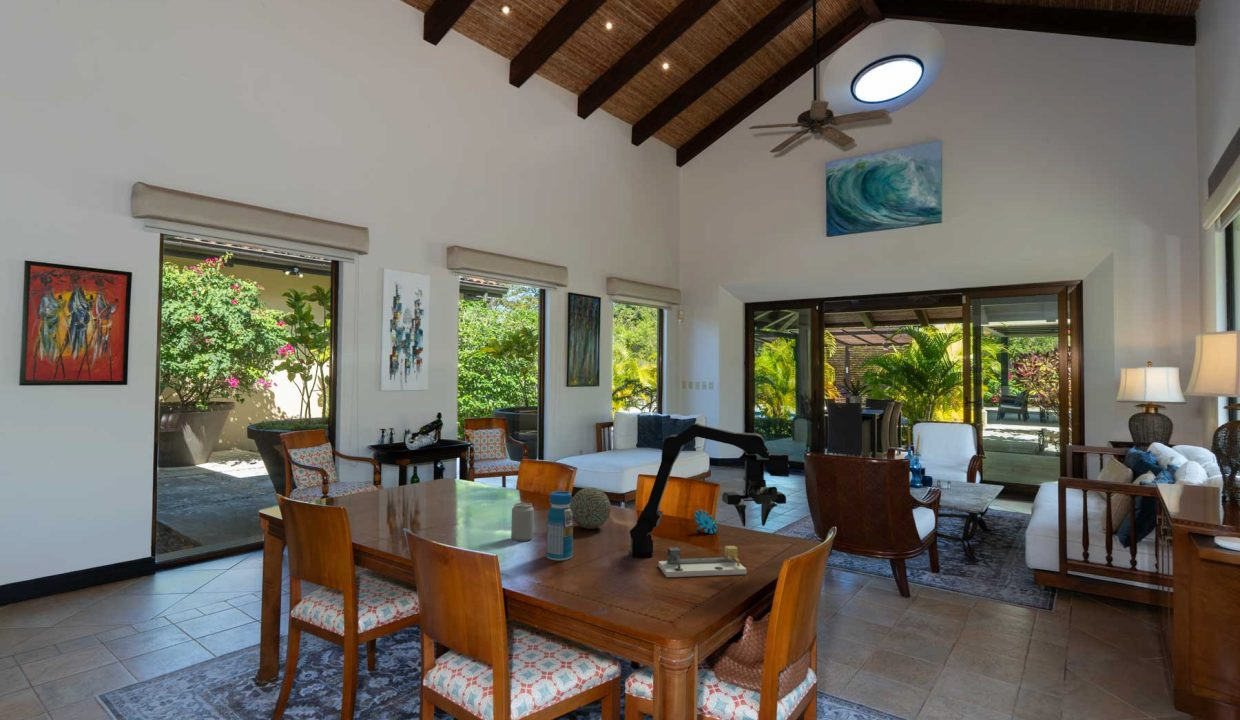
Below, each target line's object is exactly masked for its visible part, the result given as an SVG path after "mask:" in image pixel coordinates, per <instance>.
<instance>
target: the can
mask: <svg viewBox="0 0 1240 720" xmlns="http://www.w3.org/2000/svg"><path fill="white" fill-rule="evenodd" d="M534 511H535V508H534V507H533V504H532V503H530V502H515V503H514V504H513V507H512V508H511V527H510V528H511V534H510V535H511V536H510V537H511V538H512V539H513V541H516V542H527V541H531V539H532V538H533V537H534V520H535V519H534V514H535V513H534Z"/></svg>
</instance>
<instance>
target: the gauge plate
mask: <svg viewBox="0 0 1240 720" xmlns="http://www.w3.org/2000/svg"><path fill="white" fill-rule="evenodd" d="M680 565H681V567H680V568H678V565H677V564H667V560H660V561H659V560H658V567H659V569H660V570H661V571H662V573H663V574H664V576H665V577H666V578H678V577H679V578H680V577H683V578H684V577H705V576H706V577H707V576H708V577H709V576H731V575H733V576H734V575H747V567H745V566H743V565H742V564H741V563H740V566H737V563H736V562H723V563H693V564H680Z"/></svg>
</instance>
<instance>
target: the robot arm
mask: <svg viewBox="0 0 1240 720" xmlns="http://www.w3.org/2000/svg"><path fill="white" fill-rule="evenodd" d="M695 438H700V439H706V440H709V441H714V442H718V443H722V444H723V443H724V444H728V445H730V446H734V447H737V448H739V449H740V450H743V453H742V454H741V455H740V456H739V458H738V460H739V461H744V476H743V481H744V489H743V491H742V494H739V493H738V492H736V491H724V492H722V493H723V494H722V495H721V501H722V502H723V503H725V504H726V505H731V506H734V507H735V509H736V511H737V513H738V517H739V519H740V521H741V524H742V526H743V527H746V521H747V520H746V508H747V505H746V504H745V502H754V503H755V504H756V505H761V506H760V508H761V510H760V511H761V512H760V518H761V526H762V527H765V525H766V523H767V520H768V518H769V516H770V512H772V510H773V509H774V508H775V507H778V505H782V504H783V505H785V504H787V496H786V494H785V493H783V492H781V491H779V490H778V488H777V487H776V486H768V487H767V480H766V479H765V471H766V473H768V474H769V476H770V477H778V478H779V477H783V478H790V464H789V454H787V453H784V454H775V453H774V454H773V453H771V452H770V450H769V449H768V447H767V446H766V445H765V444H766V442H765V439H764V437H763V435H762V434H760V433H756V432H735V431H730V430H726V429H720V428H716V427H712V426H707V425H703V424H700V423H698V422H697V423H692V425H690V426H689V427H688V428H686V429H685V430H684V431H682V432H680V433H679V434H671V435H669V436H668V437H666V438H665V439H664V440H663V443H662V448H661V457H660V458H661V459H660V460H661V461H660V466H659V467H658V471H657V474H656V476H655V479H654V481H653V482H654V483H653V486H652V488H651V491H650V495H649V498H648V500H647V503H646V504H645V506H644V508H643V510H642V511H641V513H640V515H639V516H638V519H637V520H636V523H635V525H634V526H633V527H632V528H631V529H630V530H629V534H630V547H629V548H630V549H629V550H628V552H629V553H630V555H631V557H632V558H652V557H654V556H653V553H654V540H653V539H652V535H651V532H653V531H654V529H657V527H658V526H659V525H660V523H661V517H662V516H663V514H664V511H662V510H661V509H660V508H661V507H660V506H661V502H662V500H663V497H664V494H665V490H666V487H667V485H668V482H669V479H670V476H671V473H672V470H673V467H674V465H675V463H676V461H677V459H678V458H679V456H680V454H681V452H682V450H683V448H684V447H685V445H686V444H688V443H689V442H691V441H692V440H694V439H695ZM749 453H750V454H749ZM758 456H760V457H758ZM765 462H766V463H765ZM765 464H766V465H765ZM765 466H766V468H765ZM765 469H766V470H765Z"/></svg>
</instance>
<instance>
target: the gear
mask: <svg viewBox="0 0 1240 720" xmlns="http://www.w3.org/2000/svg"><path fill="white" fill-rule="evenodd" d="M713 518H714V517H713V515H712V514H709V515H708V511H707V510H703V509H699V510H696V511H695V514H694V516H693V519H696V520H694V522H695V525H698V527H697V528H696V530H697V531H700V530H702V529H703V532H704V533H705V534H707V533H708V534H709V535H713V533H714V534H715V533H716V532H717V529H718V525H717V522H718V519H717V518H716V519H713ZM708 530H709V531H708Z"/></svg>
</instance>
